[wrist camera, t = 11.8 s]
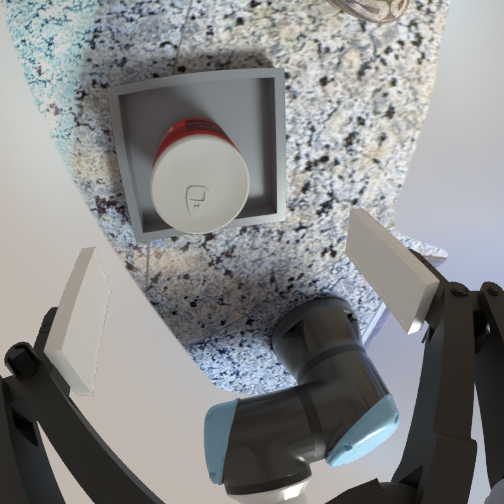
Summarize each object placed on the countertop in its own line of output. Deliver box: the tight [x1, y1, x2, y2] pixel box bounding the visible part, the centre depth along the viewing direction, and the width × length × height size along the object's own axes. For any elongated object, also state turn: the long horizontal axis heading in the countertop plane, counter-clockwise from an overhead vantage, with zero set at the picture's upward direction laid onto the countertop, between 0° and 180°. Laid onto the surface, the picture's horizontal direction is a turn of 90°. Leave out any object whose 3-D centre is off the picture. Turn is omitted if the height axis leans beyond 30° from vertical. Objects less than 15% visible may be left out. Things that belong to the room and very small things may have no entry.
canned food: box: [150, 117, 250, 234], centre depth 27 cm, size 8×8×11 cm
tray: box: [107, 68, 286, 243], centre depth 31 cm, size 17×17×3 cm
